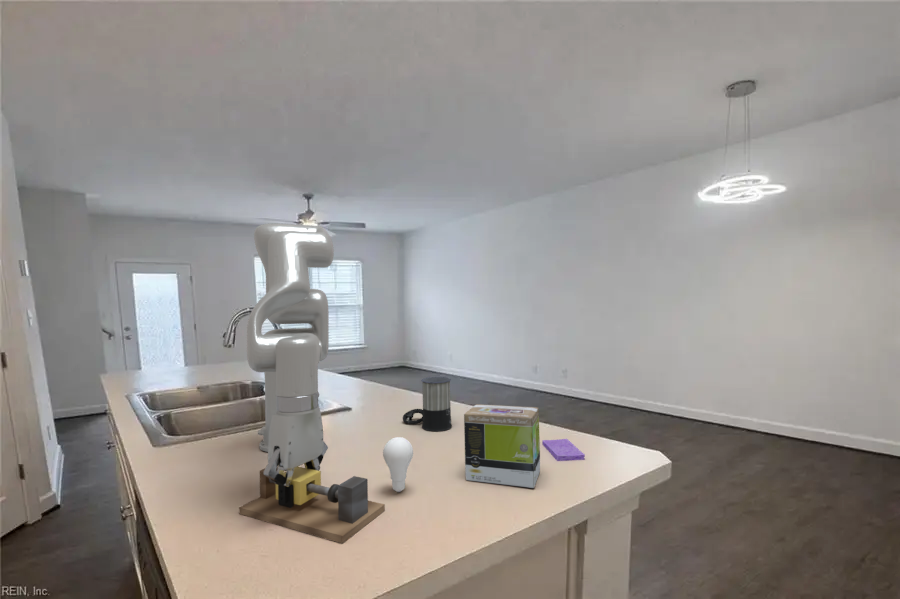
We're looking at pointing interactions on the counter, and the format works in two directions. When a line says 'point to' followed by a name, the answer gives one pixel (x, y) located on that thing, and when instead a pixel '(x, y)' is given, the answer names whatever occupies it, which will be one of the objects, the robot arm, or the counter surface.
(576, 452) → the sponges
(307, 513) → the cable rail
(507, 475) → the tea box
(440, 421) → the milk frother
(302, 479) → the sleeve
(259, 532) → the counter surface
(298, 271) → the robot arm
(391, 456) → the lightbulb
